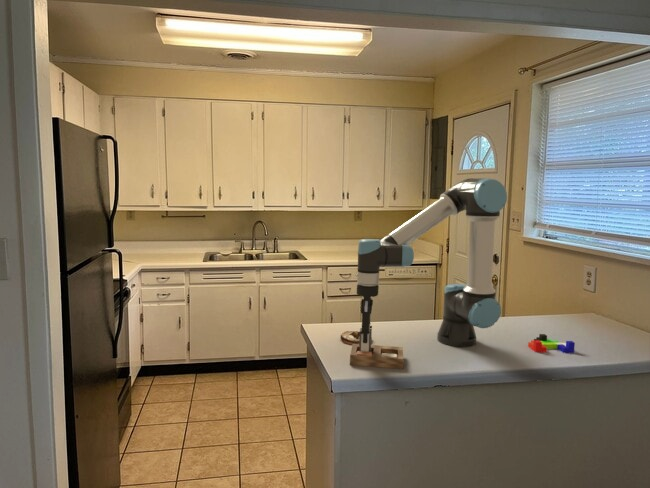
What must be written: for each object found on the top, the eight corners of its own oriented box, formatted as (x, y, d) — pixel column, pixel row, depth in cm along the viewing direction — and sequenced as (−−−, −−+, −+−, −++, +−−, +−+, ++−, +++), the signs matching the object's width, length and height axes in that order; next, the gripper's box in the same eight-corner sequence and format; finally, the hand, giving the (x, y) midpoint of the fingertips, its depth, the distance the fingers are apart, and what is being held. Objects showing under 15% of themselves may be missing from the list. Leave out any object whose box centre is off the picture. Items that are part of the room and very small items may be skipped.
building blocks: (556, 342, 198) (557, 332, 198) (574, 353, 186) (575, 342, 185) (520, 342, 198) (521, 331, 197) (535, 353, 185) (536, 342, 184)
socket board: (402, 356, 176) (402, 345, 176) (402, 368, 164) (403, 357, 164) (352, 352, 178) (353, 342, 178) (349, 364, 167) (350, 353, 166)
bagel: (341, 333, 202) (342, 323, 202) (377, 337, 198) (377, 327, 198) (332, 344, 188) (333, 334, 188) (370, 349, 184) (371, 338, 184)
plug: (370, 350, 173) (372, 323, 172) (370, 354, 169) (371, 326, 168) (359, 349, 174) (360, 322, 172) (358, 353, 170) (359, 325, 169)
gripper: (358, 278, 177) (356, 340, 180) (355, 288, 160) (352, 356, 163) (379, 279, 176) (376, 341, 179) (377, 289, 159) (374, 358, 162)
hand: (365, 348), depth 171 cm, fingers open, 4 cm apart
